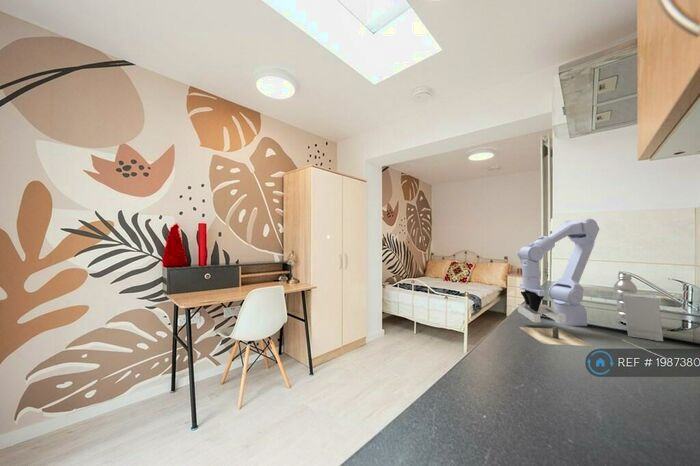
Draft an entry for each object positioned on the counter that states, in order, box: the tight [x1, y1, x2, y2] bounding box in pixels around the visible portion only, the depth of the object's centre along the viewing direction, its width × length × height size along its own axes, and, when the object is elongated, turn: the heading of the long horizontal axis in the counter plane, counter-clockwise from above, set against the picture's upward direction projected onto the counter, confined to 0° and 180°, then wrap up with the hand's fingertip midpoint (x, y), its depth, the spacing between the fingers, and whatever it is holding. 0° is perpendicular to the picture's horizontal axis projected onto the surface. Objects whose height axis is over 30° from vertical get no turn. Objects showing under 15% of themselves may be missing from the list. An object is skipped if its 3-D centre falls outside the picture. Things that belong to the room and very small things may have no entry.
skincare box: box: [623, 293, 664, 342], centre depth 89 cm, size 8×6×15 cm
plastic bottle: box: [613, 273, 638, 322], centre depth 102 cm, size 6×7×20 cm
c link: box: [517, 303, 566, 324], centre depth 95 cm, size 10×12×3 cm
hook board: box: [519, 326, 593, 347], centre depth 88 cm, size 14×16×5 cm
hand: (532, 310), depth 100 cm, fingers closed on c link, 2 cm apart
